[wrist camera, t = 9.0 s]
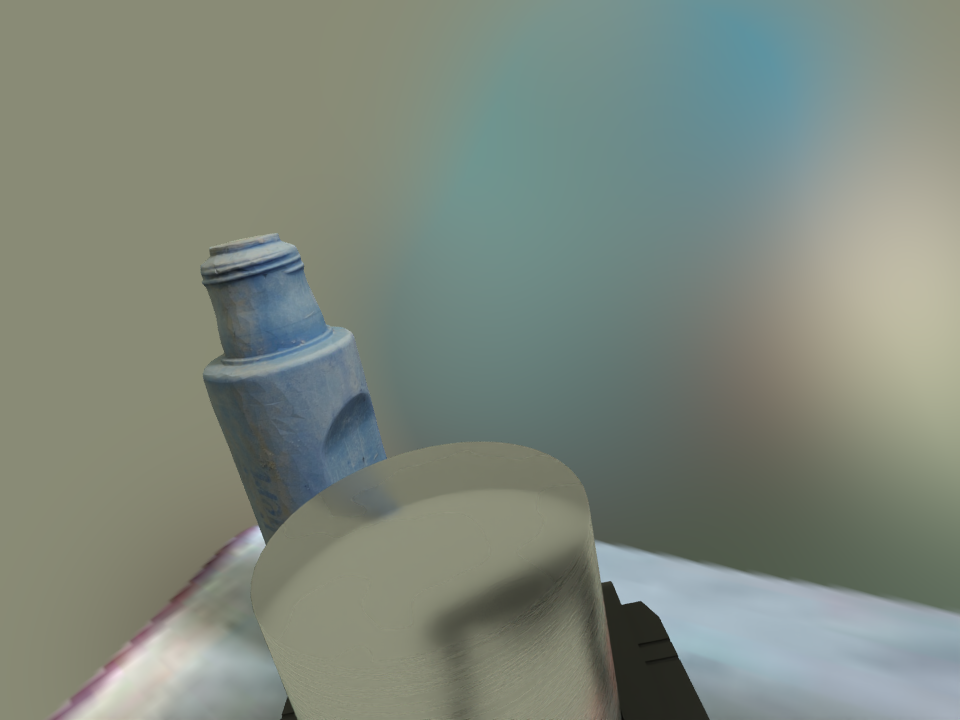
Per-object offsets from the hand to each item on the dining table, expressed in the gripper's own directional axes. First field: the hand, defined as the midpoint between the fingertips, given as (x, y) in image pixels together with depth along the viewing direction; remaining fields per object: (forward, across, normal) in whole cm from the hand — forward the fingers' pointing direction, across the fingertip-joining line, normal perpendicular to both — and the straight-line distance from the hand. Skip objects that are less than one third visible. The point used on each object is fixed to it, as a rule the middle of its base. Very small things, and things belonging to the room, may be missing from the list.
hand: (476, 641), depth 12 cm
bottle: (+25, +12, +21) cm, 34 cm away
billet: (-3, 0, +7) cm, 7 cm away
